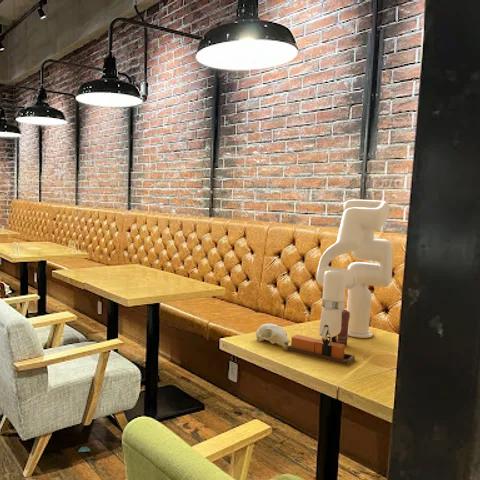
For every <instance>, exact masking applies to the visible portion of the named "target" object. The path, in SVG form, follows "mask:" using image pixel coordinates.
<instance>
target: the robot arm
mask: <svg viewBox="0 0 480 480" xmlns="http://www.w3.org/2000/svg"><path fill="white" fill-rule="evenodd" d="M342 208H343V212H342V216H341V221H340V225H339V228H338V234H337V238H336V241H335V242H334V243H333V244H332V245H330V246H329V247H328V248H327V249H326V250H325V251H324V252H323V253H322V255H321V256H320V259H319V262H318V266H317V270H316V277H315V279H316V282H317V284H318V285H319V286H322V298H321V308H322V309H321V313H320V319H319V320H320V321H319V329H318V335H319V336H321V340H322V355H326V356H331V349H332V346H331V342H335V343H337V342H338V334H339V333H340V332H341V322H342V311H343V310H345V296H346V290H347V298H346V299H347V301H346V311H349V312H350V319H349V324H348V336H347V337H352V338H358V339H368V338H369V339H370V338H372V337H373V332H372V331H370V320H371V308H372V292H371V291H370V289H369V288H368V287H367V286H371V287H379V288H386V287H389V286H390V285H391V283H392V277H393V257H394V249H393V248H394V247H393V244H392V242H391V241H390V240H389V239H385V238H376V237H374V236H375V231H379V230H380V229H382V228H383V226H384V225H385V224H386V222H387V220H388V218H389V216H390V212H391V210H390V209H391V208H390V205H389V202H387V201H386V200H380V199H379V200H377V199H349V200H348V199H347V200H346V201H345V202H344V203H343V207H342ZM349 253H351V255H352V257H353V258H354V259H357V260H360V261H354V262H351V263H349V265H348V266H347V268H342V267H333V266H329V264H330V263H331V261H332V260H334V259H336V258H337V257H340V256H342V255H345V254H349ZM365 261H369V262H365ZM375 262H378V263H375Z"/></svg>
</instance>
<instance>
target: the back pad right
mask: <svg viewBox="0 0 480 480" xmlns="http://www.w3.org/2000/svg"><path fill="white" fill-rule="evenodd" d="M331 346H332V349H331V357H335V358H339V359H343V358H344V353H345V349H346V346H345V345H344V344H340V343H335V342H331ZM315 353H318V354H322V338H320V339H319V340H318V341H316V342H315Z"/></svg>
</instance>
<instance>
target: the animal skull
mask: <svg viewBox="0 0 480 480" xmlns="http://www.w3.org/2000/svg"><path fill="white" fill-rule="evenodd" d="M255 337H256V340H257V341H259V342H264V341H265V340H266V342H268V341H269V343H270V344H271V345H274V344H276V343H277V344H279V345H281V346H282V347H283V349H284V350H287V347H288V346H289V344H290V343H291V341H290V339H289V338H288V334H287V331H286V330H285V329H284V328H283V327H282V326H279V324H275V323H270V322H269V323H264V324H263V323H262V324H261V325H260V326H259V327H258V329H256V330H255Z"/></svg>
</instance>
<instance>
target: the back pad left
mask: <svg viewBox="0 0 480 480" xmlns="http://www.w3.org/2000/svg"><path fill="white" fill-rule="evenodd" d="M318 340H320V339H319V338H315V337H310V336H307V335H306V336H305V335H301V334H295V335H293V336H291V341H290V345H291V347H293V348H297V349H301V350H306V351H310V352H314V353H315V342H316V341H318Z"/></svg>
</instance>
